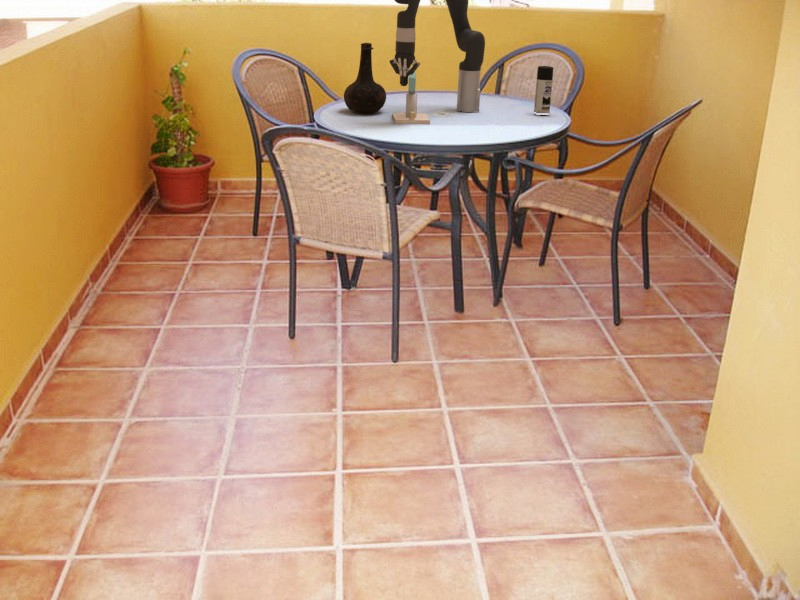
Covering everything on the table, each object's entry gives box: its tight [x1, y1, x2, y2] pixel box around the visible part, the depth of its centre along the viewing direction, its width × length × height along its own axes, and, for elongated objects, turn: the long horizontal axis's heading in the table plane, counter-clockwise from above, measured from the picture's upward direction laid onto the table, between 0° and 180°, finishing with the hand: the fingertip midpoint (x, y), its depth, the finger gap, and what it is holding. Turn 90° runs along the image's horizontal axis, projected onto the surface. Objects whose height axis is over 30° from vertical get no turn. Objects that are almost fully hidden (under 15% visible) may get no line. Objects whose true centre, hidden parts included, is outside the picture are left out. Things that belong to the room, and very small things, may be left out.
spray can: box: [533, 65, 554, 114], centre depth 358 cm, size 7×7×20 cm
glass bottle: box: [343, 42, 387, 115], centre depth 350 cm, size 18×18×28 cm
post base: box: [391, 92, 431, 125], centre depth 340 cm, size 14×14×10 cm
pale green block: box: [408, 72, 417, 94], centre depth 337 cm, size 15×3×7 cm, turn 178°
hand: (403, 85), depth 331 cm, fingers closed
